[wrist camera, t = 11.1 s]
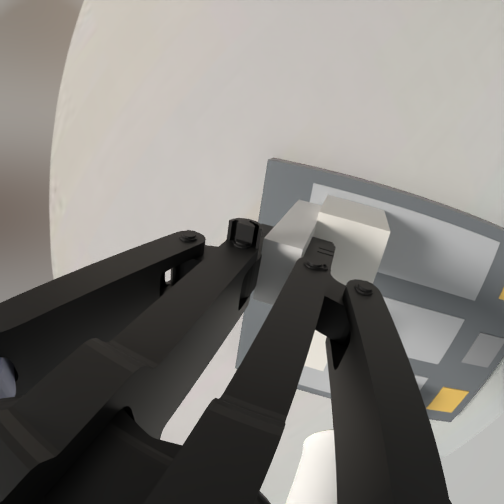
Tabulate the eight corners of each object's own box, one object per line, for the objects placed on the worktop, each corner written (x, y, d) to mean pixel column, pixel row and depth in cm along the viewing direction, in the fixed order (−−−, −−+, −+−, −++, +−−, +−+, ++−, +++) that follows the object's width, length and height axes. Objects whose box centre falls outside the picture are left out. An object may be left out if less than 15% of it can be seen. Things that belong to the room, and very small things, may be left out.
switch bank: (273, 157, 19) (267, 159, 18) (549, 249, 13) (557, 256, 12) (239, 359, 27) (234, 368, 25) (449, 413, 21) (450, 422, 20)
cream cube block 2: (296, 278, 20) (280, 311, 16) (346, 293, 19) (340, 329, 16) (285, 319, 21) (269, 354, 18) (331, 333, 21) (323, 371, 17)
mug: (413, 440, 24) (405, 536, 14) (381, 471, 28) (366, 550, 17) (314, 421, 27) (282, 521, 17) (296, 454, 31) (265, 534, 20)
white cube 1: (327, 194, 17) (318, 211, 14) (384, 210, 16) (390, 231, 13) (315, 247, 19) (303, 276, 15) (368, 262, 18) (368, 295, 14)
